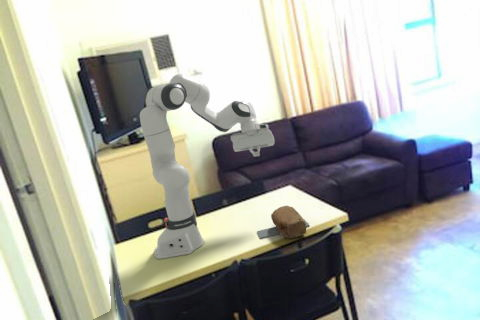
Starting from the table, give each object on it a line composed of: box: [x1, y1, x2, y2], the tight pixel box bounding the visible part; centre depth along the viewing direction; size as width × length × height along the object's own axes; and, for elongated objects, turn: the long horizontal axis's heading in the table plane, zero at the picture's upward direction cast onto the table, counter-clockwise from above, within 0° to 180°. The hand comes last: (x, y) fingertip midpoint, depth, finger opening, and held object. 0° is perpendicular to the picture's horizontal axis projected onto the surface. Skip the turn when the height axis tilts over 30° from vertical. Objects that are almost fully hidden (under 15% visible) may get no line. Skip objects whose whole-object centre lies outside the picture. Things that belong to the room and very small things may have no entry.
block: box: [270, 205, 307, 239], centre depth 179 cm, size 11×8×20 cm
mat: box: [257, 219, 310, 240], centre depth 183 cm, size 22×8×1 cm, turn 99°
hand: (256, 155), depth 199 cm, fingers closed
